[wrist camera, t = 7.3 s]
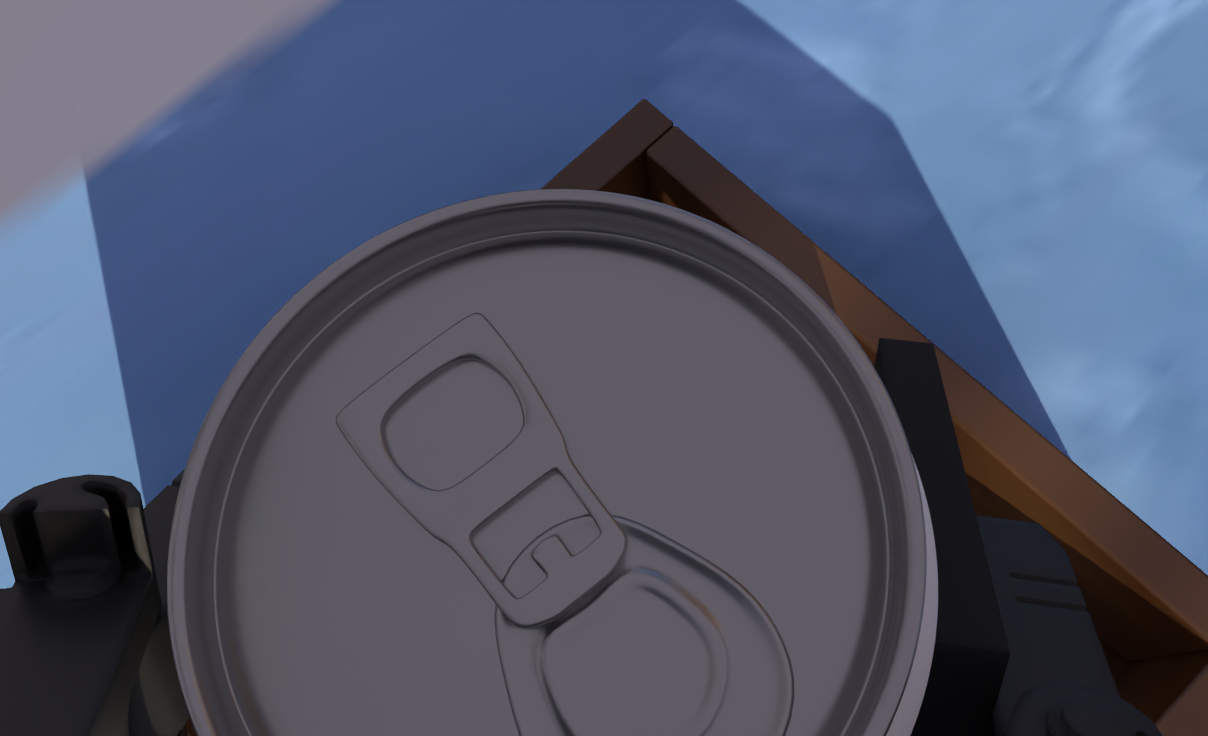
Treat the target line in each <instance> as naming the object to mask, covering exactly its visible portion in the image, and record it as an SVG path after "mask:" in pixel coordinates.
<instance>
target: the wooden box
mask: <svg viewBox="0 0 1208 736" xmlns="http://www.w3.org/2000/svg"><path fill="white" fill-rule="evenodd" d="M541 189H580V190H593V191H603V192H611V193H618V194H624V195H629V196H635V197H639V198H643V199H648V200H652V201H656V202H659V203H663V204H666V205H669V206H673V207H676V208H679V209H682V210H684V211H687V212H690V213H692V214H695V215H698V216H700V217H702V218H705V219H707V220H709V221H712V222H714V223H716V224H718V225H720V226H722V227H724V228H726V229H728V230H730V231H732V232H734V233H736V234H738V235H739V236H741V237H743V238H745V239H746V240H748V241H750V242H751V243H753V244H755V245H756V246H758V247H759V248H761V249H762V250H764V251H765V252H767V253H768V254H770V255H771V256H773V257H774V258H775V259H777V260H778V261H779V262H781V263H782V264H783V265H785V266H786V267H787V268H788V269H790V270H791V271H792V272H793V273H794V274H796V275H797V276H798V277H799V278H800V279H801V280H803V281H804V282H805V283H806V284H807V285H808V286H809V287H810V288H811V289H812V290H813V291H814V292H815V293H816V294H817V295H818V296H819V297H820V298H821V299H822V300H823V301H824V302H825V303H826V304H827V305H828V306H829V307H830V308H831V309H832V310H833V311H834V313H835V314H836V315H837V316H838V317H839V318H840V320H841V321H842V322H843V323H844V325H845V326H846V327H847V328H848V330H849V331H850V332H851V334H852V335H853V336H854V338H855V339H856V340H857V342H858V343H859V345H860V346H861V348H862V349H863V350H864V352H865V353H866V355H867V356H868V358H869V360H870V361H871V363H872V365H873V366H874V365H875V359H876V354H877V348H878V342H879V338H887V339H897V340H906V341H915V342H925V343H932V342H931V341H930V340H929V339H927V338H926V337H925V336H924V335H923V334H922V333H920V332H919V331H918V330H917V329H916V328H914V327H913V326H912V325H911V324H910V323H909V322H907V321H906V320H905V319H904V318H903V317H901V316H900V315H899V314H898V313H897V312H896V311H894V310H893V309H892V308H891V307H890V306H888V305H887V304H886V303H885V302H884V301H883V300H881V299H880V298H879V297H878V296H877V295H875V294H874V293H873V292H872V291H871V290H870V289H868V288H867V287H866V286H865V285H864V284H862V283H861V282H860V281H859V280H858V279H857V278H855V277H854V276H853V275H852V274H851V273H849V272H848V271H847V270H846V269H845V268H844V267H842V266H841V265H840V264H839V263H838V262H836V261H835V260H834V259H833V258H832V257H831V256H829V255H828V254H827V253H826V252H825V251H823V250H822V249H821V248H820V247H819V246H818V245H816V244H815V243H814V242H813V241H812V240H810V239H809V238H808V237H807V236H806V235H804V234H803V233H802V232H801V231H800V230H799V229H797V228H796V227H795V226H794V225H793V224H791V223H790V222H789V221H788V220H787V219H786V218H784V217H783V216H782V215H781V214H780V213H778V212H777V211H776V210H775V209H774V208H773V207H771V206H770V205H769V204H768V203H767V202H765V201H764V200H763V199H762V198H761V197H760V196H758V195H757V194H756V193H755V192H754V191H752V190H751V189H750V188H749V187H748V186H747V185H745V184H744V183H743V182H742V181H741V180H739V179H738V178H737V177H736V176H735V175H734V174H732V173H731V172H730V171H729V170H728V169H726V168H725V167H724V166H723V165H722V164H721V163H719V162H718V161H717V160H716V159H715V158H713V157H712V156H711V155H710V154H709V153H708V152H706V151H705V150H704V149H703V148H702V147H700V146H699V145H698V144H697V143H696V142H695V141H693V140H692V139H691V138H690V137H689V136H687V135H686V134H685V133H684V132H683V131H682V130H680V129H679V128H678V127H676V126H674V124H673V122H672V121H671V120H670V119H668V118H667V117H666V116H665V115H664V114H662V113H661V112H660V111H659V110H658V109H657V108H655V107H654V106H653V105H652V104H651V103H649V102H648V101H647V100H646V99H643V100H642V101H640V102H639V103H638V104H637V105H636V106H635V107H634V108H632V109H631V110H630V111H629V112H628V113H627V114H626V115H624V116H623V117H622V118H621V119H620V120H619V121H618V122H617V123H615V124H614V125H613V126H612V127H611V128H610V129H609V130H607V131H606V132H605V133H604V134H603V135H602V136H601V137H599V138H598V139H597V140H596V141H595V142H594V143H593V144H591V145H590V146H589V147H588V148H587V149H586V150H585V151H583V152H582V153H581V154H580V155H579V156H578V157H577V158H575V159H574V160H573V161H572V162H571V163H570V164H569V165H567V166H566V167H565V168H564V169H563V170H562V171H561V172H559V173H558V174H557V175H556V176H555V177H554V178H553V179H552V180H550V181H549V182H548V183H547V184H546V185H545V186H544V187H542V188H541ZM541 189H540V190H541ZM933 345H934V349H935V353H936V357H937V361H938V365H939V369H940V373H941V377H942V381H943V385H944V389H945V393H946V397H947V401H948V405H949V409H950V413H951V417H952V421H953V425H954V429H955V433H956V437H957V441H958V445H959V449H960V453H961V458H962V462H963V466H964V470H965V474H966V478H967V482H968V486H969V490H970V494H971V498H972V502H973V506H974V510H975V514H976V515H978V516H986V517H993V518H1001V519H1009V520H1016V521H1024V522H1032V523H1039V524H1040V525H1041V526H1042V527H1043V528H1044V529H1045V530H1046V531H1047V532H1048V533H1049V534H1050V535H1051V536H1052V537H1053V538H1054V539H1055V540H1056V541H1057V542H1058V543H1059V544H1060V545H1061V546H1062V547H1063V548H1064V549H1065V551H1066V552H1067V554H1068V557H1069V559H1070V562H1071V565H1072V568H1073V570H1074V573H1075V576H1076V578H1077V581H1078V582H1077V587H1080V589H1081V592H1082V595H1083V597H1084V600H1085V603H1086V606H1087V607H1086V612H1089V614H1090V616H1091V619H1092V622H1093V625H1094V627H1095V630H1096V633H1097V635H1098V638H1099V641H1100V644H1101V646H1102V649H1103V652H1104V655H1105V657H1106V660H1107V663H1108V665H1109V668H1110V671H1111V674H1112V676H1113V679H1114V682H1115V684H1116V687H1117V690H1118V693H1119V695H1120V698H1121V699H1123V700H1125V701H1127V702H1128V703H1130V704H1131V705H1132V706H1134V707H1135V708H1136V709H1137V710H1139V711H1140V712H1141V713H1143V714H1144V715H1145V716H1146V717H1148V718H1149V719H1150V720H1152V721H1153V723H1154V724H1155V725H1156V727H1157V728H1158V730H1159V731H1160V732H1161V734H1162V735H1163V736H1208V575H1206V574H1205V573H1204V572H1203V571H1202V570H1201V569H1199V568H1198V567H1197V566H1196V565H1195V564H1193V563H1192V562H1191V561H1190V560H1189V559H1188V558H1186V557H1185V556H1184V555H1183V554H1182V553H1180V552H1179V551H1178V550H1177V549H1176V548H1175V547H1173V546H1172V545H1171V544H1170V543H1169V542H1167V541H1166V540H1165V539H1164V538H1163V537H1161V536H1160V535H1159V534H1158V533H1157V532H1156V531H1154V530H1153V529H1152V528H1151V527H1150V526H1148V525H1147V524H1146V523H1145V522H1144V521H1143V520H1141V519H1140V518H1139V517H1138V516H1137V515H1135V514H1134V513H1133V512H1132V511H1131V510H1130V509H1128V508H1127V507H1126V506H1125V505H1124V504H1122V503H1121V502H1120V501H1119V500H1118V499H1117V498H1115V497H1114V496H1113V495H1112V494H1111V493H1109V492H1108V491H1107V490H1106V489H1105V488H1104V487H1102V486H1101V485H1100V484H1099V483H1098V482H1096V481H1095V480H1094V479H1093V478H1092V477H1091V476H1089V475H1088V474H1087V473H1086V472H1085V471H1083V470H1082V469H1081V468H1080V467H1079V466H1078V465H1076V464H1075V463H1074V462H1073V461H1072V460H1070V459H1069V458H1068V457H1067V456H1066V455H1065V454H1063V453H1062V452H1061V451H1060V450H1059V449H1057V448H1056V447H1055V446H1054V445H1053V444H1052V443H1050V442H1049V441H1048V440H1047V439H1046V438H1044V437H1043V436H1042V435H1041V434H1040V433H1039V432H1037V431H1036V430H1035V429H1034V428H1033V427H1031V426H1030V425H1029V424H1028V423H1027V422H1026V421H1024V420H1023V419H1022V418H1021V417H1020V416H1018V415H1017V414H1016V413H1015V412H1014V411H1013V410H1011V409H1010V408H1009V407H1008V406H1007V405H1005V404H1004V403H1003V402H1002V401H1001V400H1000V399H998V398H997V397H996V396H995V395H994V394H992V393H991V392H990V391H989V390H988V389H987V388H985V387H984V386H983V385H982V384H981V383H979V382H978V381H977V380H976V379H975V378H974V377H972V376H971V375H970V374H969V373H968V372H966V371H965V370H964V369H963V368H962V367H961V366H959V365H958V364H957V363H956V362H955V361H953V360H952V359H951V358H950V357H949V356H948V355H946V354H945V353H944V352H943V351H942V350H940V349H939V348H938V347H937V346H936V345H935V344H933ZM185 724H186V729H187V735H188V736H196V734H195V732H194V729H193V727H192V724H191V722H190V719H188V720H187V722H186V723H185Z"/></svg>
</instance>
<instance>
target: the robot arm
mask: <svg viewBox="0 0 1208 736" xmlns="http://www.w3.org/2000/svg"><path fill="white" fill-rule="evenodd" d="M874 368H875V370H876V371H877V373H878V375H879V377H880V379H881V380H882V382H883V384H884V386H885V388H886V390H887V392H888V394H889V396H890V398H891V400H892V402H893V405H894V407H895V409H896V412H897V414H898V417H899V419H900V421H901V424H902V427H903V430H904V432H905V435H906V438H907V441H908V444H909V447H910V451H911V454H912V456H913V459H914V461H915V464H916V467H917V470H918V472H919V475H920V479H921V482H922V485H923V488H924V492H925V496H926V500H927V504H928V508H929V512H930V517H931V522H932V527H933V534H934V540H935V547H936V557H937V571H938V614H937V628H936V638H935V645H934V652H933V658H932V663H931V668H930V673H929V678H928V682H927V686H926V690H925V694H924V697H923V701H922V704H921V707H920V710H919V714H918V717H917V719H916V722H915V725H914V727H913V730H912V733H911V735H910V736H1163V735H1162V734H1161V732H1160V731H1159V730H1158V728H1157V727H1156V725H1155V724H1154V723H1153V721H1152V720H1150V719H1149V718H1148V717H1146V716H1145V715H1144V714H1143V713H1141V712H1140V711H1139V710H1137V709H1136V708H1135V707H1134V706H1132V705H1131V704H1130V703H1128V702H1127V701H1125V700H1123V699H1121V698H1120V695H1119V693H1118V690H1117V687H1116V684H1115V682H1114V679H1113V676H1112V674H1111V671H1110V668H1109V665H1108V663H1107V660H1106V657H1105V655H1104V652H1103V649H1102V646H1101V644H1100V641H1099V638H1098V635H1097V633H1096V630H1095V627H1094V625H1093V622H1092V619H1091V616H1090V614H1089V612H1086V607H1087V606H1086V603H1085V600H1084V597H1083V595H1082V592H1081V589H1080V587H1077V582H1078V581H1077V578H1076V576H1075V573H1074V570H1073V568H1072V565H1071V562H1070V559H1069V557H1068V554H1067V552H1066V551H1065V549H1064V548H1063V547H1062V546H1061V545H1060V544H1059V543H1058V542H1057V541H1056V540H1055V539H1054V538H1053V537H1052V536H1051V535H1050V534H1049V533H1048V532H1047V531H1046V530H1045V529H1044V528H1043V527H1042V526H1041V525H1040V524H1039V523H1032V522H1024V521H1016V520H1009V519H1001V518H993V517H986V516H978V515H976V514H975V510H974V506H973V502H972V498H971V494H970V490H969V486H968V482H967V478H966V474H965V470H964V466H963V462H962V458H961V453H960V449H959V445H958V441H957V437H956V433H955V429H954V425H953V421H952V417H951V413H950V409H949V405H948V401H947V397H946V393H945V389H944V385H943V381H942V377H941V373H940V369H939V365H938V361H937V357H936V353H935V349H934V345H933V343H925V342H915V341H906V340H897V339H887V338H879V342H878V348H877V354H876V359H875V365H874ZM184 470H185V469H184ZM184 470H183V471H182V472H181V473H180V474H179V475H178V476H177V477H176V478H175V479H174V480H173V483H172V486H167V487H166V488H165V489H164V490H163V491H162V492H161V493H160V494H159V495H158V496H156V497H155V498H154V499H153V500H152V501H151V502H150V503H149V504H148V505H147V506H146V507H145V508H144V509H143V505H142V500H141V495H140V492H139V491H138V490H137V489H136V488H135V487H134V486H133V484H132V483H131V482H128V481H125V480H122V479H120V478H117V477H114V476H104V475H82V476H75V477H67V478H61V479H58V480H55V481H51V482H48V483H45V484H42V485H39V486H36V487H34V488H32V489H30V490H28V491H26V492H24V493H23V494H21V495H19V496H17V497H15V498H14V499H12V500H11V501H10V502H9V503H8V504H7V505H6V506H5V507H4V508H3V509H2V510H1V511H0V526H1V530H2V534H3V537H4V541H5V545H6V548H7V552H8V556H9V559H10V563H11V567H12V570H13V574H14V578H15V583H14V585H13V587H12V588H6V589H0V736H188V735H187V729H186V724H185V723H186V722H187V720H188V719H189V716H188V713H187V710H186V707H185V704H184V701H183V697H182V694H181V691H180V687H179V683H178V679H177V675H176V671H175V666H174V660H173V655H172V649H171V642H170V635H169V625H168V614H167V562H168V550H169V540H170V533H171V526H172V520H173V515H174V510H175V505H176V501H177V496H178V492H179V488H180V484H181V481H182V477H183V474H184Z"/></svg>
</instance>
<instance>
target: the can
mask: <svg viewBox="0 0 1208 736" xmlns="http://www.w3.org/2000/svg"><path fill="white" fill-rule="evenodd" d="M167 614H168V625H169V635H170V642H171V649H172V655H173V660H174V666H175V671H176V675H177V679H178V683H179V687H180V691H181V694H182V697H183V701H184V704H185V707H186V710H187V713H188V716H189V719H190V722H191V724H192V727H193V729H194V732H195V734H196V736H910V735H911V733H912V730H913V727H914V725H915V722H916V719H917V717H918V714H919V710H920V707H921V704H922V701H923V697H924V694H925V690H926V686H927V682H928V678H929V673H930V668H931V663H932V658H933V652H934V645H935V638H936V628H937V614H938V571H937V557H936V547H935V540H934V534H933V527H932V522H931V517H930V512H929V508H928V504H927V500H926V496H925V492H924V488H923V485H922V482H921V479H920V475H919V472H918V470H917V467H916V464H915V461H914V459H913V456H912V454H911V451H910V447H909V444H908V441H907V438H906V435H905V432H904V430H903V427H902V424H901V421H900V419H899V417H898V414H897V412H896V409H895V407H894V405H893V402H892V400H891V398H890V396H889V394H888V392H887V390H886V388H885V386H884V384H883V382H882V380H881V379H880V377H879V375H878V373H877V371H876V370H875V368H874V366H873V365H872V363H871V361H870V360H869V358H868V356H867V355H866V353H865V352H864V350H863V349H862V348H861V346H860V345H859V343H858V342H857V340H856V339H855V338H854V336H853V335H852V334H851V332H850V331H849V330H848V328H847V327H846V326H845V325H844V323H843V322H842V321H841V320H840V318H839V317H838V316H837V315H836V314H835V313H834V311H833V310H832V309H831V308H830V307H829V306H828V305H827V304H826V303H825V302H824V301H823V300H822V299H821V298H820V297H819V296H818V295H817V294H816V293H815V292H814V291H813V290H812V289H811V288H810V287H809V286H808V285H807V284H806V283H805V282H804V281H803V280H801V279H800V278H799V277H798V276H797V275H796V274H794V273H793V272H792V271H791V270H790V269H788V268H787V267H786V266H785V265H783V264H782V263H781V262H779V261H778V260H777V259H775V258H774V257H773V256H771V255H770V254H768V253H767V252H765V251H764V250H762V249H761V248H759V247H758V246H756V245H755V244H753V243H751V242H750V241H748V240H746V239H745V238H743V237H741V236H739V235H738V234H736V233H734V232H732V231H730V230H728V229H726V228H724V227H722V226H720V225H718V224H716V223H714V222H712V221H709V220H707V219H705V218H702V217H700V216H698V215H695V214H692V213H690V212H687V211H684V210H682V209H679V208H676V207H673V206H669V205H666V204H663V203H659V202H656V201H652V200H648V199H643V198H639V197H635V196H629V195H624V194H618V193H611V192H603V191H593V190H580V189H541V190H527V191H516V192H509V193H502V194H496V195H490V196H485V197H480V198H476V199H471V200H467V201H464V202H460V203H456V204H453V205H450V206H446V207H443V208H440V209H437V210H434V211H431V212H429V213H426V214H423V215H421V216H418V217H416V218H413V219H411V220H408V221H406V222H404V223H402V224H400V225H397V226H395V227H393V228H391V229H389V230H387V231H385V232H383V233H381V234H379V235H377V236H376V237H374V238H372V239H370V240H369V241H367V242H365V243H363V244H362V245H360V246H359V247H357V248H355V249H354V250H352V251H351V252H349V253H347V254H346V255H344V256H343V257H342V258H340V259H339V260H337V261H336V262H334V263H333V264H332V265H330V266H329V267H328V268H326V269H325V270H324V271H322V272H321V273H320V274H319V275H317V276H316V277H315V278H314V279H312V280H311V281H310V282H309V283H308V284H306V285H305V286H304V287H303V288H302V289H301V290H300V291H299V292H298V293H296V294H295V295H294V296H293V297H292V298H291V299H290V300H289V301H288V302H287V303H286V304H285V305H284V306H283V307H282V308H281V309H280V310H279V311H278V312H277V313H276V314H275V315H274V316H273V317H272V319H271V320H270V321H269V322H268V323H267V324H266V325H265V327H264V328H263V329H262V330H261V331H260V332H259V334H258V335H257V336H256V337H255V339H254V340H253V341H252V342H251V344H250V345H249V346H248V348H247V349H246V350H245V352H244V353H243V354H242V356H241V357H240V359H239V360H238V361H237V363H236V364H235V366H234V367H233V369H232V371H231V372H230V374H229V375H228V377H227V378H226V380H225V382H224V383H223V385H222V387H221V388H220V390H219V392H218V394H217V396H216V397H215V399H214V401H213V403H212V405H211V407H210V409H209V411H208V413H207V415H206V417H205V419H204V421H203V423H202V426H201V428H200V430H199V433H198V435H197V437H196V440H195V442H194V445H193V448H192V450H191V453H190V456H189V459H188V462H187V465H186V468H185V470H184V474H183V477H182V481H181V484H180V488H179V492H178V496H177V501H176V505H175V510H174V515H173V520H172V526H171V533H170V540H169V550H168V562H167Z"/></svg>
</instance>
